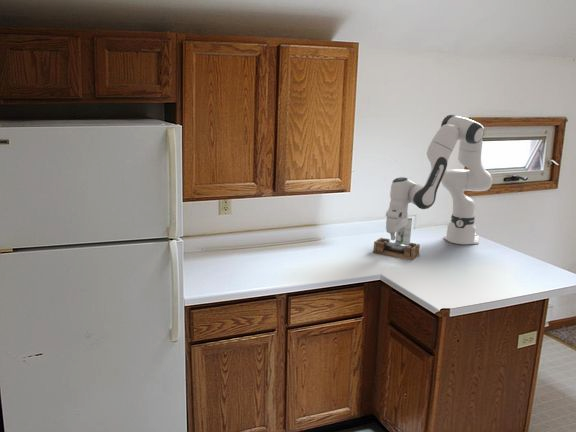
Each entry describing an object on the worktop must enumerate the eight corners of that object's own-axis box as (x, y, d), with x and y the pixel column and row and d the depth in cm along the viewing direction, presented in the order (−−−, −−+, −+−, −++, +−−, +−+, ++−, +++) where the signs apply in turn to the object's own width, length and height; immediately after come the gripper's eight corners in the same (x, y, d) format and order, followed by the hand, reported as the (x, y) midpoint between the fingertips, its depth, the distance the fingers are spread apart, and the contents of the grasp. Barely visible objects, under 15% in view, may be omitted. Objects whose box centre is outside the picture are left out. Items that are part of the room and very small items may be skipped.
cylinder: (384, 248, 293) (385, 240, 292) (411, 253, 286) (412, 245, 286) (381, 250, 290) (382, 242, 289) (408, 254, 283) (409, 246, 282)
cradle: (380, 248, 297) (381, 237, 296) (419, 254, 288) (420, 244, 286) (373, 252, 289) (373, 242, 288) (412, 260, 279) (413, 249, 278)
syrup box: (394, 242, 308) (396, 215, 305) (404, 241, 311) (406, 215, 307) (401, 245, 303) (403, 218, 300) (410, 244, 306) (412, 217, 302)
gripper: (399, 205, 294) (398, 231, 298) (384, 214, 277) (382, 241, 281) (411, 207, 291) (409, 233, 294) (396, 215, 274) (395, 243, 278)
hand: (396, 237), depth 287 cm, fingers open, 8 cm apart
